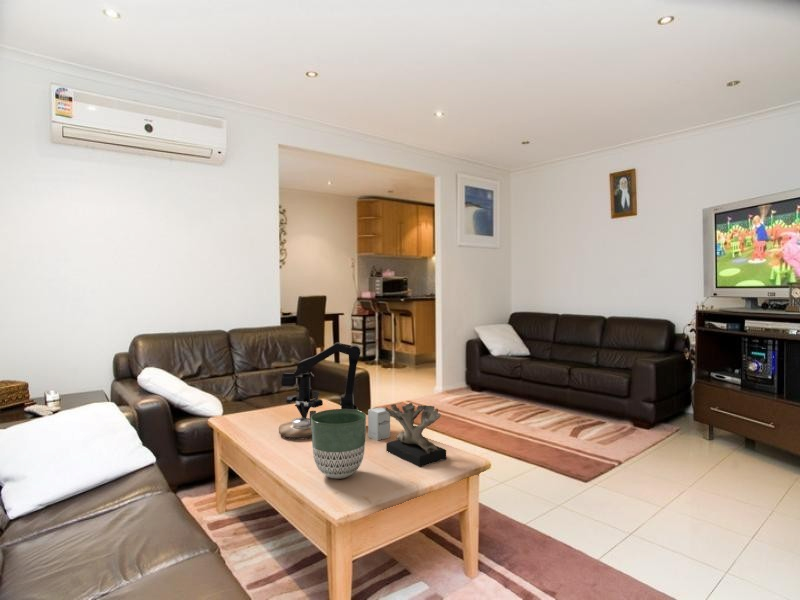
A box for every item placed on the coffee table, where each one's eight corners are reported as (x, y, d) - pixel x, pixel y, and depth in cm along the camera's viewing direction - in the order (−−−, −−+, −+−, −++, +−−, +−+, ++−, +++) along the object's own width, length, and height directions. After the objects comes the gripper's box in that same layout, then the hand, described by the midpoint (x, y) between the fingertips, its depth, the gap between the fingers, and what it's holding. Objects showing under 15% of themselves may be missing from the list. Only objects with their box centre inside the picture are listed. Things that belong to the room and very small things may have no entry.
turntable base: (325, 431, 211) (325, 429, 211) (301, 441, 198) (301, 438, 198) (300, 426, 220) (300, 423, 220) (275, 435, 206) (275, 432, 206)
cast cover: (313, 425, 210) (313, 418, 210) (301, 430, 203) (301, 423, 203) (301, 422, 214) (301, 416, 214) (288, 427, 207) (288, 420, 207)
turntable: (331, 427, 212) (331, 413, 212) (301, 440, 195) (301, 424, 195) (300, 421, 222) (300, 407, 222) (269, 432, 205) (269, 417, 205)
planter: (349, 461, 175) (348, 406, 175) (376, 477, 159) (376, 417, 159) (302, 473, 163) (301, 414, 163) (327, 492, 148) (326, 427, 147)
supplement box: (377, 441, 198) (377, 412, 198) (367, 437, 204) (367, 409, 203) (390, 437, 203) (390, 409, 202) (380, 433, 208) (380, 406, 208)
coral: (452, 462, 174) (452, 406, 173) (410, 474, 162) (410, 415, 162) (413, 444, 194) (413, 394, 194) (373, 454, 182) (373, 401, 182)
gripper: (330, 385, 218) (330, 417, 219) (301, 381, 228) (302, 412, 228) (314, 390, 209) (314, 423, 209) (285, 385, 219) (285, 417, 219)
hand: (304, 419), depth 217 cm, fingers closed
